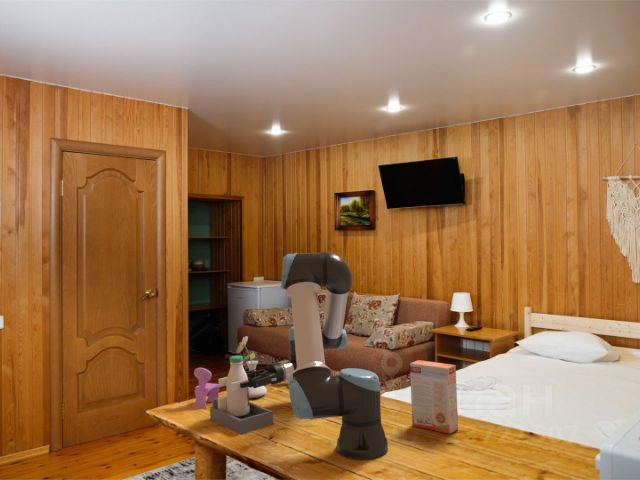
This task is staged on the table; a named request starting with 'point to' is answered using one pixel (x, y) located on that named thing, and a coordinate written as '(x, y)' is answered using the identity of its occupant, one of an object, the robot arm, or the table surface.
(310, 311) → the robot arm
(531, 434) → the table surface
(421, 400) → the cracker box
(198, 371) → the toy chair
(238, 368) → the milk bottle
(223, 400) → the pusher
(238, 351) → the flower in vase
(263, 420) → the grey tray
